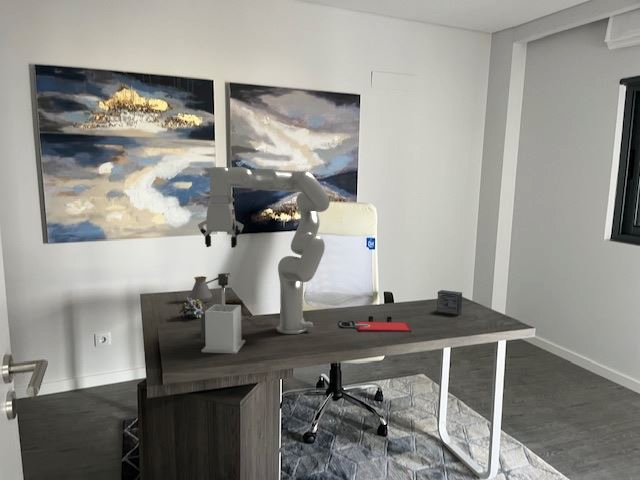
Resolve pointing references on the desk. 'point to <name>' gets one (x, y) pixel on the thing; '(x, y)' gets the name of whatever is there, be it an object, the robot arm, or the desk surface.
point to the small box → (449, 302)
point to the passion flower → (193, 307)
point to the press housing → (222, 329)
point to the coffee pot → (201, 289)
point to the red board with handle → (377, 326)
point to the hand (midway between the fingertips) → (221, 247)
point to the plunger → (223, 286)
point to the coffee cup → (236, 302)
